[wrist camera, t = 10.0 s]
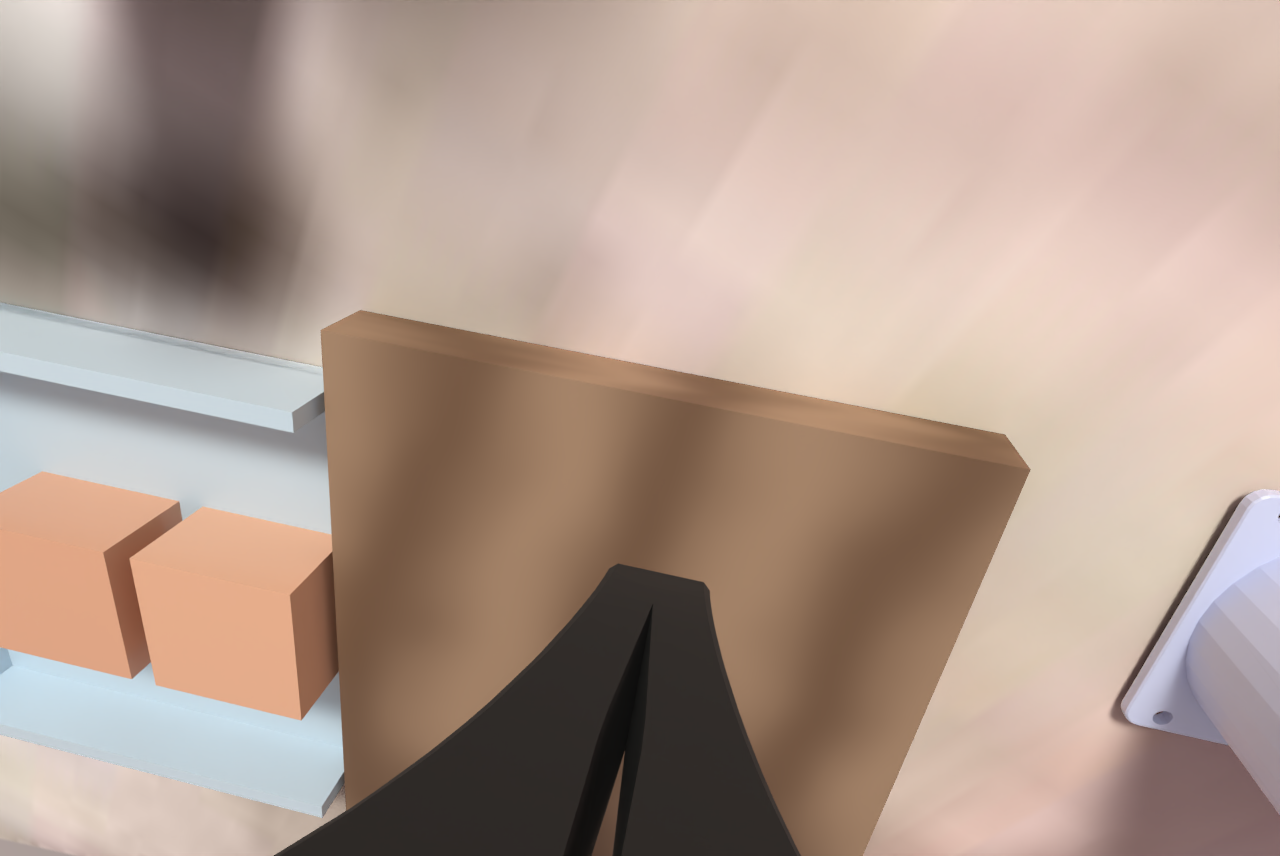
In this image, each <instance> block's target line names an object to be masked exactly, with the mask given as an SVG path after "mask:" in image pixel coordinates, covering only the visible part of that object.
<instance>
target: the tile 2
mask: <svg viewBox="0 0 1280 856" xmlns="http://www.w3.org/2000/svg"><path fill="white" fill-rule="evenodd" d="M129 559H130V564H131V569H132V574H133V578H134V583H135V588H136V593H137V598H138V602H139V607H140V612H141V617H142V622H143V626H144V631H145V636H146V641H147V646H148V650H149V655H150V660H151V665H152V669H153V674H154V679H155V684H156V685H157V686H161V687H165V688H169V689H173V690H178V691H182V692H186V693H190V694H194V695H198V696H202V697H206V698H210V699H215V700H219V701H223V702H227V703H231V704H235V705H239V706H243V707H247V708H252V709H256V710H260V711H264V712H268V713H272V714H276V715H280V716H284V717H289V718H293V719H297V720H301V721H302V719H303V718H304V717H305V715H306V714H307V713H308V711H309V710H310V709H311V707H312V706H313V705H314V703H315V702H316V701H317V699H318V698H319V697H320V695H321V694H322V693H323V691H324V690H325V689H326V688H327V686H328V685H329V684H330V682H331V681H332V680H333V678H334V677H335V676H336V674H337V673H338V672H339V666H338V647H337V628H336V609H335V590H334V571H333V552H332V534H327V533H322V532H318V531H313V530H309V529H304V528H300V527H295V526H290V525H286V524H281V523H277V522H272V521H267V520H263V519H258V518H254V517H249V516H245V515H240V514H235V513H231V512H226V511H222V510H217V509H212V508H208V507H201V508H200V509H198V510H197V511H196V512H194V513H193V514H191V515H190V516H188V517H187V518H186V519H184V520H183V521H181V522H180V523H179V524H177V525H176V526H174V527H173V528H172V529H170V530H169V531H167V532H166V533H165V534H163V535H162V536H160V537H159V538H157V539H156V540H155V541H153V542H152V543H150V544H149V545H148V546H146V547H145V548H143V549H142V550H141V551H139V552H138V553H136V554H135V555H134V556H132V557H131V558H129Z"/></svg>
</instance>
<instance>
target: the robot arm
mask: <svg viewBox="0 0 1280 856" xmlns="http://www.w3.org/2000/svg"><path fill="white" fill-rule="evenodd" d="M1279 515H1280V491H1276V490H1268V489H1261V490H1258V491H1254V492H1252V493H1250V494H1248V495H1247V496H1245V497H1244V498H1243V500H1242V501H1241V502H1240V503H1239V505H1238V507H1237V508H1236V510H1235V512H1234V513H1233V515H1232V517H1231V518H1230V520H1229V522H1228V523H1227V525H1226V527H1225V528H1224V530H1223V532H1222V534H1221V535H1220V537H1219V539H1218V540H1217V542H1216V544H1215V545H1214V547H1213V549H1212V550H1211V552H1210V554H1209V555H1208V557H1207V559H1206V560H1205V562H1204V564H1203V566H1202V567H1201V569H1200V571H1199V572H1198V574H1197V576H1196V577H1195V579H1194V581H1193V582H1192V584H1191V586H1190V587H1189V589H1188V591H1187V592H1186V594H1185V596H1184V597H1183V599H1182V601H1181V603H1180V604H1179V606H1178V608H1177V609H1176V611H1175V613H1174V614H1173V616H1172V618H1171V619H1170V621H1169V623H1168V624H1167V626H1166V628H1165V629H1164V631H1163V633H1162V635H1161V636H1160V638H1159V640H1158V641H1157V643H1156V645H1155V646H1154V648H1153V650H1152V651H1151V653H1150V655H1149V656H1148V658H1147V660H1146V661H1145V663H1144V665H1143V666H1142V668H1141V670H1140V672H1139V673H1138V675H1137V677H1136V678H1135V680H1134V682H1133V683H1132V685H1131V687H1130V688H1129V690H1128V692H1127V693H1126V695H1125V697H1124V698H1123V700H1122V702H1121V710H1122V712H1123V714H1124V715H1125V717H1126V719H1127V720H1128V721H1129V722H1130V723H1133V724H1135V725H1139V726H1144V727H1148V728H1153V729H1157V730H1162V731H1166V732H1170V733H1175V734H1179V735H1184V736H1188V737H1193V738H1197V739H1202V740H1206V741H1211V742H1215V743H1220V744H1224V745H1229V746H1230V748H1231V749H1232V750H1233V752H1234V753H1235V754H1236V756H1237V757H1238V759H1239V760H1240V761H1241V763H1242V764H1243V765H1244V767H1245V768H1246V770H1247V771H1248V772H1249V774H1250V775H1251V776H1252V778H1253V779H1254V781H1255V782H1256V783H1257V785H1258V786H1259V788H1260V789H1261V790H1262V792H1263V793H1264V794H1265V796H1266V797H1267V799H1268V800H1269V801H1270V803H1271V804H1272V805H1273V807H1274V808H1275V810H1276V811H1277V812H1278V814H1279V815H1280V518H1278V517H1279ZM1161 711H1163V712H1162V713H1160V714H1156V713H1158V712H1161ZM624 752H625V754H624ZM623 755H624V762H623V771H622V779H621V787H620V796H619V804H618V812H617V821H616V829H615V838H614V846H613V854H612V856H801V855H800V853H799V851H798V849H797V847H796V845H795V843H794V841H793V839H792V837H791V834H790V832H789V830H788V828H787V826H786V824H785V822H784V820H783V818H782V816H781V814H780V812H779V809H778V807H777V805H776V803H775V801H774V798H773V796H772V794H771V792H770V789H769V787H768V785H767V782H766V780H765V778H764V775H763V773H762V771H761V768H760V766H759V763H758V761H757V758H756V755H755V753H754V750H753V748H752V745H751V743H750V740H749V738H748V735H747V732H746V730H745V727H744V724H743V721H742V719H741V716H740V713H739V710H738V707H737V704H736V701H735V698H734V695H733V691H732V688H731V685H730V682H729V679H728V676H727V673H726V669H725V666H724V662H723V659H722V655H721V651H720V647H719V643H718V639H717V635H716V630H715V625H714V620H713V615H712V608H711V600H710V590H709V589H708V587H707V586H706V584H705V583H704V582H701V581H696V580H692V579H687V578H683V577H678V576H673V575H669V574H664V573H660V572H655V571H650V570H646V569H641V568H637V567H632V566H628V565H623V564H616V565H614V566H613V567H611V568H609V569H608V571H607V573H606V574H605V576H604V578H603V579H602V580H601V582H600V583H599V585H598V586H597V588H596V589H595V590H594V592H593V593H592V594H591V596H590V597H589V598H588V599H587V601H586V602H585V603H584V604H583V606H582V607H581V608H580V609H579V610H578V612H577V613H576V614H575V615H574V616H573V618H572V619H571V620H570V621H569V622H568V623H567V624H566V626H565V627H564V628H563V629H562V630H561V631H560V632H559V633H558V634H557V635H556V636H555V637H554V639H553V640H552V641H551V642H550V643H549V644H548V645H547V646H546V647H545V648H544V649H543V651H542V652H541V653H540V654H539V655H538V656H537V657H536V658H535V659H534V660H533V661H532V662H531V663H530V664H529V665H528V666H527V667H526V668H525V669H524V670H522V671H521V672H520V673H519V674H518V675H517V676H516V677H515V678H514V679H513V680H512V681H511V682H510V683H509V684H508V685H507V686H506V687H505V688H504V689H503V690H502V691H500V692H499V693H498V694H497V695H496V696H495V697H494V698H493V699H492V700H491V701H490V702H489V703H487V704H486V705H485V706H484V707H483V708H482V709H481V710H479V711H478V712H477V713H476V714H475V715H474V716H473V717H471V718H470V719H469V720H468V721H467V722H465V723H464V724H463V725H462V726H461V727H459V728H458V729H457V730H456V731H455V732H453V733H452V734H451V735H450V736H448V737H447V738H446V739H445V740H443V741H442V742H441V743H440V744H438V745H437V746H436V747H435V748H433V749H432V750H431V751H429V752H428V753H427V754H425V755H424V756H423V757H421V758H420V759H419V760H417V761H416V762H415V763H413V764H412V765H410V766H409V767H408V768H406V769H405V770H404V771H402V772H401V773H399V774H398V775H397V776H395V777H394V778H393V779H391V780H390V781H389V782H387V783H386V784H384V785H383V786H382V787H380V788H379V789H378V790H376V791H375V792H373V793H372V794H370V795H369V796H367V797H366V798H364V799H363V800H361V801H360V802H359V803H357V804H356V805H354V806H353V807H351V808H350V809H348V810H347V811H345V812H344V813H342V814H341V815H339V816H337V817H336V818H334V819H332V820H331V821H329V822H328V823H326V824H324V825H323V826H321V827H319V828H318V829H316V830H315V831H313V832H311V833H310V834H308V835H307V836H305V837H303V838H302V839H300V840H298V841H297V842H295V843H294V844H292V845H290V846H289V847H287V848H286V849H284V850H282V851H281V852H279V853H277V854H276V855H274V856H592V853H593V850H594V847H595V843H596V840H597V837H598V834H599V831H600V828H601V825H602V821H603V818H604V815H605V812H606V809H607V806H608V803H609V799H610V796H611V793H612V790H613V787H614V784H615V780H616V777H617V774H618V771H619V768H620V765H621V761H622V758H623Z"/></svg>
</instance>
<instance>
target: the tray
mask: <svg viewBox="0 0 1280 856" xmlns="http://www.w3.org/2000/svg"><path fill="white" fill-rule="evenodd" d="M42 471H43V472H48V473H52V474H57V475H62V476H66V477H71V478H75V479H80V480H84V481H89V482H94V483H98V484H103V485H107V486H112V487H117V488H121V489H126V490H130V491H135V492H140V493H144V494H149V495H153V496H158V497H162V498H167V499H172V500H176V501H179V503H180V509H181V515H182V521H183V520H184V519H186V518H187V517H188V516H190V515H191V514H193V513H194V512H196V511H197V510H198V509H200V508H201V507H208V508H212V509H217V510H222V511H226V512H231V513H235V514H240V515H245V516H249V517H254V518H258V519H263V520H267V521H272V522H277V523H281V524H286V525H290V526H295V527H300V528H304V529H309V530H313V531H318V532H322V533H327V534H331V515H330V496H329V477H328V458H327V439H326V420H325V402H324V383H323V367H319V366H314V365H309V364H304V363H299V362H294V361H289V360H284V359H279V358H274V357H269V356H264V355H259V354H254V353H249V352H244V351H239V350H234V349H229V348H224V347H219V346H214V345H209V344H204V343H199V342H194V341H190V340H185V339H180V338H175V337H170V336H165V335H160V334H155V333H150V332H145V331H140V330H135V329H130V328H125V327H120V326H115V325H110V324H105V323H100V322H95V321H90V320H85V319H80V318H75V317H70V316H65V315H60V314H55V313H50V312H45V311H40V310H35V309H30V308H25V307H20V306H16V305H11V304H6V303H1V302H0V492H2V491H4V490H6V489H8V488H10V487H12V486H14V485H16V484H18V483H20V482H22V481H24V480H26V479H28V478H30V477H32V476H34V475H36V474H38V473H40V472H42ZM0 735H4V736H7V737H11V738H15V739H19V740H23V741H27V742H31V743H34V744H38V745H42V746H46V747H50V748H54V749H58V750H62V751H65V752H69V753H73V754H77V755H81V756H85V757H89V758H93V759H96V760H100V761H104V762H108V763H112V764H116V765H120V766H123V767H127V768H131V769H135V770H139V771H143V772H147V773H151V774H154V775H158V776H162V777H166V778H170V779H174V780H178V781H182V782H185V783H189V784H193V785H197V786H201V787H205V788H209V789H212V790H216V791H220V792H224V793H228V794H232V795H236V796H240V797H243V798H247V799H251V800H255V801H259V802H263V803H267V804H271V805H274V806H278V807H282V808H286V809H290V810H294V811H298V812H302V813H305V814H309V815H313V816H317V817H321V818H323V816H324V815H325V813H326V811H327V810H328V808H329V807H330V805H331V803H332V802H333V800H334V799H335V797H336V795H337V794H338V792H339V791H340V789H341V787H342V786H343V784H344V783H345V779H344V760H343V741H342V722H341V703H340V684H339V672H338V673H337V674H336V676H335V677H334V678H333V680H332V681H331V682H330V684H329V685H328V686H327V688H326V689H325V690H324V691H323V693H322V694H321V695H320V697H319V698H318V699H317V701H316V702H315V703H314V705H313V706H312V707H311V709H310V710H309V711H308V713H307V714H306V715H305V717H304V718H303V719H302V721H301V720H297V719H293V718H289V717H284V716H280V715H276V714H272V713H268V712H264V711H260V710H256V709H252V708H247V707H243V706H239V705H235V704H231V703H227V702H223V701H219V700H215V699H210V698H206V697H202V696H198V695H194V694H190V693H186V692H182V691H178V690H173V689H169V688H165V687H161V686H157V685H156V684H155V679H154V674H153V669H152V665H151V662H150V663H149V664H148V665H147V666H146V667H145V668H144V669H143V670H142V671H141V672H139V673H138V674H137V675H136V676H135V677H134V678H133V679H129V678H124V677H120V676H116V675H112V674H108V673H104V672H100V671H96V670H92V669H87V668H83V667H79V666H75V665H71V664H67V663H63V662H59V661H55V660H50V659H46V658H42V657H38V656H34V655H30V654H26V653H22V652H18V651H13V650H9V649H5V648H1V647H0Z"/></svg>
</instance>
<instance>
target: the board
mask: <svg viewBox="0 0 1280 856" xmlns="http://www.w3.org/2000/svg"><path fill="white" fill-rule="evenodd" d="M321 345H322V364H323V383H324V402H325V420H326V439H327V458H328V477H329V496H330V515H331V534H332V552H333V571H334V590H335V609H336V628H337V647H338V666H339V684H340V703H341V722H342V741H343V760H344V779H345V798H346V811H347V810H348V809H350V808H351V807H353V806H354V805H356V804H357V803H359V802H360V801H361V800H363V799H364V798H366V797H367V796H369V795H370V794H372V793H373V792H375V791H376V790H378V789H379V788H380V787H382V786H383V785H384V784H386V783H387V782H389V781H390V780H391V779H393V778H394V777H395V776H397V775H398V774H399V773H401V772H402V771H404V770H405V769H406V768H408V767H409V766H410V765H412V764H413V763H415V762H416V761H417V760H419V759H420V758H421V757H423V756H424V755H425V754H427V753H428V752H429V751H431V750H432V749H433V748H435V747H436V746H437V745H438V744H440V743H441V742H442V741H443V740H445V739H446V738H447V737H448V736H450V735H451V734H452V733H453V732H455V731H456V730H457V729H458V728H459V727H461V726H462V725H463V724H464V723H465V722H467V721H468V720H469V719H470V718H471V717H473V716H474V715H475V714H476V713H477V712H478V711H479V710H481V709H482V708H483V707H484V706H485V705H486V704H487V703H489V702H490V701H491V700H492V699H493V698H494V697H495V696H496V695H497V694H498V693H499V692H500V691H502V690H503V689H504V688H505V687H506V686H507V685H508V684H509V683H510V682H511V681H512V680H513V679H514V678H515V677H516V676H517V675H518V674H519V673H520V672H521V671H522V670H524V669H525V668H526V667H527V666H528V665H529V664H530V663H531V662H532V661H533V660H534V659H535V658H536V657H537V656H538V655H539V654H540V653H541V652H542V651H543V649H544V648H545V647H546V646H547V645H548V644H549V643H550V642H551V641H552V640H553V639H554V637H555V636H556V635H557V634H558V633H559V632H560V631H561V630H562V629H563V628H564V627H565V626H566V624H567V623H568V622H569V621H570V620H571V619H572V618H573V616H574V615H575V614H576V613H577V612H578V610H579V609H580V608H581V607H582V606H583V604H584V603H585V602H586V601H587V599H588V598H589V597H590V596H591V594H592V593H593V592H594V590H595V589H596V588H597V586H598V585H599V583H600V582H601V580H602V579H603V578H604V576H605V574H606V573H607V571H608V569H609V568H611V567H613V566H614V565H616V564H623V565H628V566H632V567H637V568H641V569H646V570H650V571H655V572H660V573H664V574H669V575H673V576H678V577H683V578H687V579H692V580H696V581H701V582H704V583H705V584H706V586H707V587H708V589H709V590H710V600H711V608H712V615H713V620H714V625H715V630H716V635H717V639H718V643H719V647H720V651H721V655H722V659H723V662H724V666H725V669H726V673H727V676H728V679H729V682H730V685H731V688H732V691H733V695H734V698H735V701H736V704H737V707H738V710H739V713H740V716H741V719H742V721H743V724H744V727H745V730H746V732H747V735H748V738H749V740H750V743H751V745H752V748H753V750H754V753H755V755H756V758H757V761H758V763H759V766H760V768H761V771H762V773H763V775H764V778H765V780H766V782H767V785H768V787H769V789H770V792H771V794H772V796H773V798H774V801H775V803H776V805H777V807H778V809H779V812H780V814H781V816H782V818H783V820H784V822H785V824H786V826H787V828H788V830H789V832H790V834H791V837H792V839H793V841H794V843H795V845H796V847H797V849H798V851H799V853H800V855H801V856H863V853H864V851H865V849H866V847H867V844H868V842H869V840H870V837H871V835H872V833H873V830H874V828H875V826H876V824H877V821H878V819H879V817H880V814H881V812H882V810H883V807H884V805H885V803H886V801H887V798H888V796H889V794H890V791H891V789H892V787H893V785H894V782H895V780H896V778H897V775H898V773H899V771H900V768H901V766H902V764H903V762H904V759H905V757H906V755H907V752H908V750H909V748H910V745H911V743H912V741H913V739H914V736H915V734H916V732H917V729H918V727H919V725H920V722H921V720H922V718H923V716H924V713H925V711H926V709H927V706H928V704H929V702H930V699H931V697H932V695H933V693H934V690H935V688H936V686H937V683H938V681H939V679H940V676H941V674H942V672H943V670H944V667H945V665H946V663H947V660H948V658H949V656H950V653H951V651H952V649H953V647H954V644H955V642H956V640H957V637H958V635H959V633H960V630H961V628H962V626H963V624H964V621H965V619H966V617H967V614H968V612H969V610H970V607H971V605H972V603H973V601H974V598H975V596H976V594H977V591H978V589H979V587H980V585H981V582H982V580H983V578H984V575H985V573H986V571H987V568H988V566H989V564H990V562H991V559H992V557H993V555H994V552H995V550H996V548H997V545H998V543H999V541H1000V539H1001V536H1002V534H1003V532H1004V529H1005V527H1006V525H1007V522H1008V520H1009V518H1010V516H1011V513H1012V511H1013V509H1014V506H1015V504H1016V502H1017V499H1018V497H1019V495H1020V493H1021V490H1022V488H1023V486H1024V483H1025V481H1026V479H1027V476H1028V474H1029V472H1030V468H1029V467H1028V466H1027V464H1026V463H1025V461H1024V460H1023V459H1022V457H1021V456H1020V455H1019V453H1018V452H1017V450H1016V449H1015V448H1014V446H1013V445H1012V444H1011V442H1010V441H1009V439H1008V438H1007V437H1006V435H1004V434H999V433H993V432H988V431H983V430H978V429H973V428H967V427H962V426H957V425H952V424H947V423H942V422H936V421H931V420H926V419H921V418H916V417H910V416H905V415H900V414H895V413H890V412H885V411H879V410H874V409H869V408H864V407H859V406H853V405H848V404H843V403H838V402H833V401H828V400H822V399H817V398H812V397H807V396H802V395H796V394H791V393H786V392H781V391H776V390H771V389H765V388H760V387H755V386H750V385H745V384H739V383H734V382H729V381H724V380H719V379H714V378H708V377H703V376H698V375H693V374H688V373H682V372H677V371H672V370H667V369H662V368H657V367H651V366H646V365H641V364H636V363H631V362H625V361H620V360H615V359H610V358H605V357H600V356H594V355H589V354H584V353H579V352H574V351H568V350H563V349H558V348H553V347H548V346H543V345H537V344H532V343H527V342H522V341H517V340H511V339H506V338H501V337H496V336H491V335H486V334H480V333H475V332H470V331H465V330H460V329H454V328H449V327H444V326H439V325H434V324H429V323H423V322H418V321H413V320H408V319H403V318H397V317H392V316H387V315H382V314H377V313H372V312H366V311H361V310H360V311H358V312H356V313H354V314H352V315H350V316H348V317H346V318H344V319H342V320H340V321H338V322H336V323H334V324H332V325H330V326H328V327H326V328H324V329H322V330H321ZM624 754H625V752H624ZM623 762H624V755H623V758H622V761H621V765H620V768H619V771H618V774H617V777H616V780H615V784H614V787H613V790H612V793H611V796H610V799H609V803H608V806H607V809H606V812H605V815H604V818H603V821H602V825H601V828H600V831H599V834H598V837H597V840H596V843H595V847H594V850H593V853H592V856H612V854H613V846H614V838H615V829H616V821H617V812H618V804H619V796H620V787H621V779H622V771H623Z"/></svg>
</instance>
